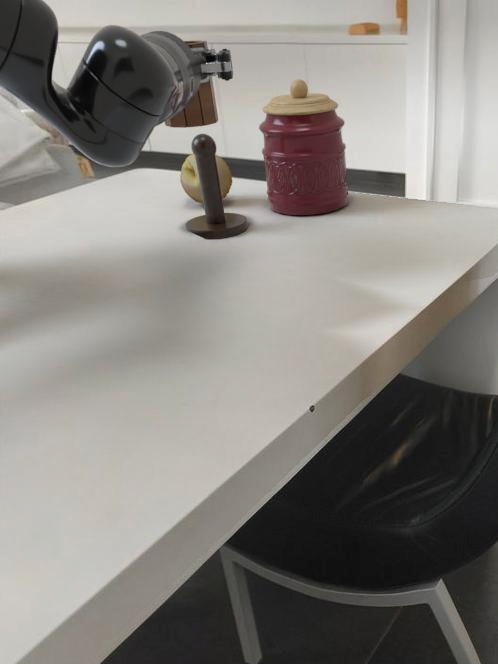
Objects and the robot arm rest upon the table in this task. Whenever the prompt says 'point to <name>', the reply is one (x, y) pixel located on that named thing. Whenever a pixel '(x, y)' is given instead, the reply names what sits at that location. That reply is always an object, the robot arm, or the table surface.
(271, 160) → the kitchen canister
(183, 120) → the wooden slatted cup
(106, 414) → the table surface
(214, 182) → the round-topped peg stand
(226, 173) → the fruit
